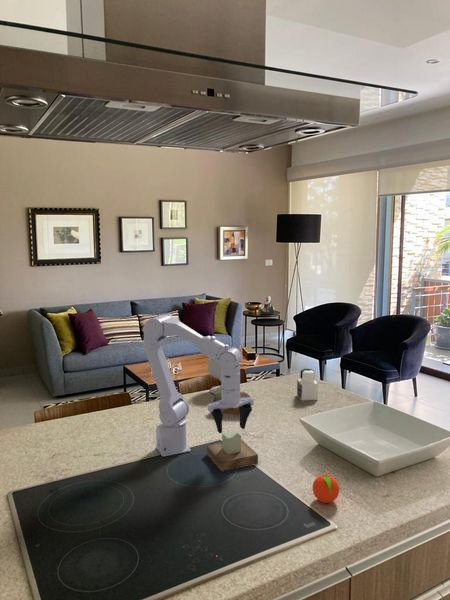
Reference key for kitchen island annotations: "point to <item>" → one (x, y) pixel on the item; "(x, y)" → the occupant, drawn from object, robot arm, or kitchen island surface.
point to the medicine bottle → (307, 385)
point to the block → (231, 442)
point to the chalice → (214, 374)
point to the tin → (230, 410)
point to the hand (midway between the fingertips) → (231, 429)
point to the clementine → (325, 488)
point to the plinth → (232, 456)
